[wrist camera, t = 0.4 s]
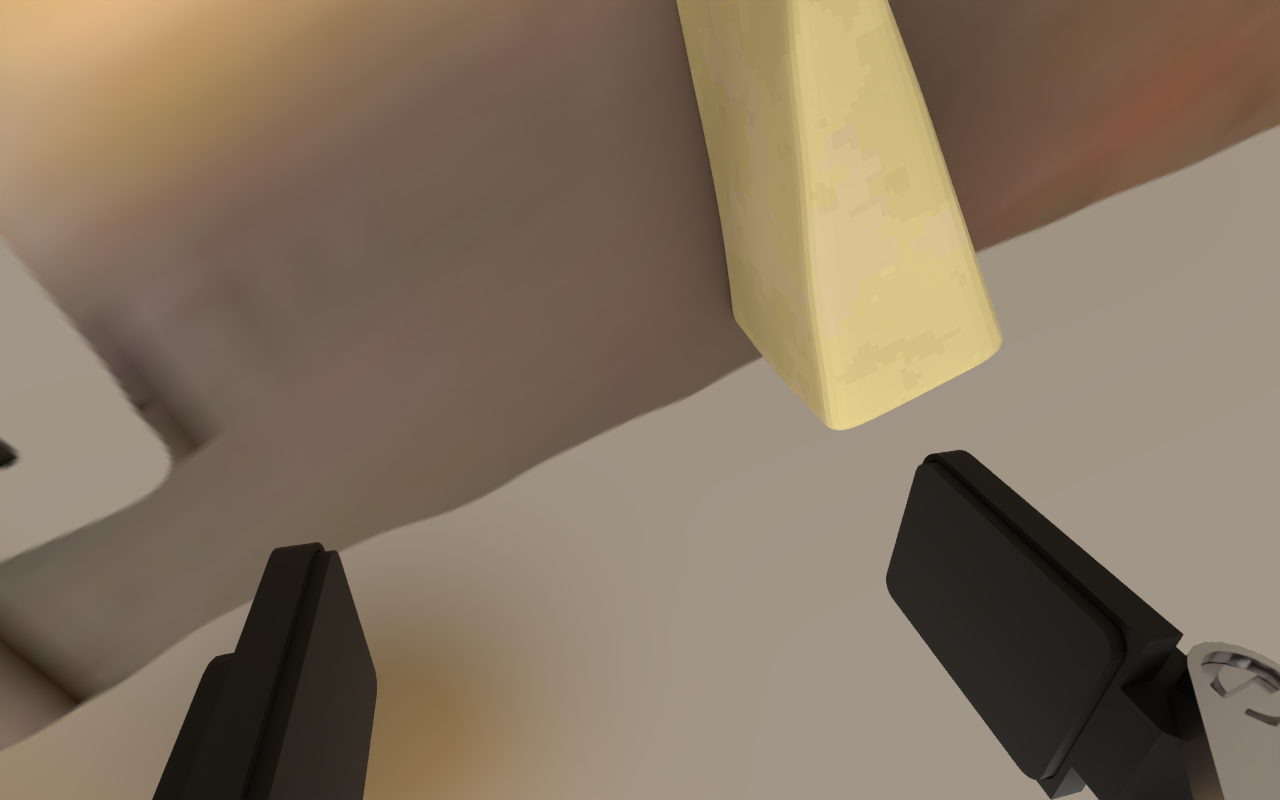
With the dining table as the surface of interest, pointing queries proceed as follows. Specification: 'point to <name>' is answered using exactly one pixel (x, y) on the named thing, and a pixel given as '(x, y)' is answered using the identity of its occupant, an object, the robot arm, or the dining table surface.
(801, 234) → the cheese
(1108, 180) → the dining table surface
